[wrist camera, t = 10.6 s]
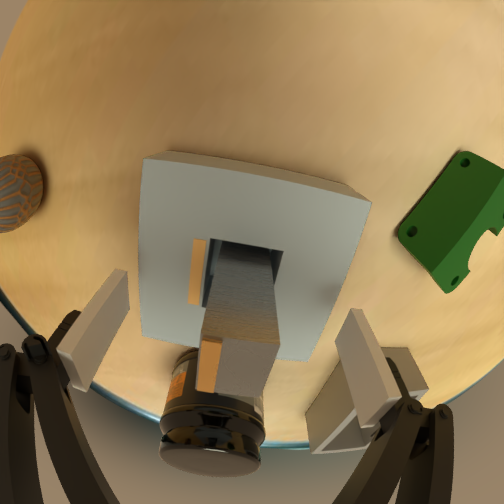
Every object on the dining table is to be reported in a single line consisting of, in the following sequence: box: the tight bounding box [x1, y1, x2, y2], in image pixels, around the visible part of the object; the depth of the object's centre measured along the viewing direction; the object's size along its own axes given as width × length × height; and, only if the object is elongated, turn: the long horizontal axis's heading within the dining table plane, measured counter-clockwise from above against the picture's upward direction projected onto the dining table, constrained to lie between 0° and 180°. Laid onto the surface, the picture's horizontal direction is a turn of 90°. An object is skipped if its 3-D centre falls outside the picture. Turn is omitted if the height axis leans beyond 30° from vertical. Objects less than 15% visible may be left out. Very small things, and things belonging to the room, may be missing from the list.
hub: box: [138, 151, 372, 362], centre depth 20 cm, size 14×14×5 cm
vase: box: [0, 154, 43, 233], centre depth 15 cm, size 7×7×9 cm
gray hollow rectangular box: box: [305, 348, 429, 454], centre depth 28 cm, size 15×9×7 cm, turn 169°
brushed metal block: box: [195, 240, 281, 398], centre depth 16 cm, size 4×3×12 cm
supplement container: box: [159, 350, 266, 477], centre depth 24 cm, size 10×10×12 cm
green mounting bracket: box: [398, 151, 504, 294], centre depth 18 cm, size 12×6×9 cm, turn 137°
